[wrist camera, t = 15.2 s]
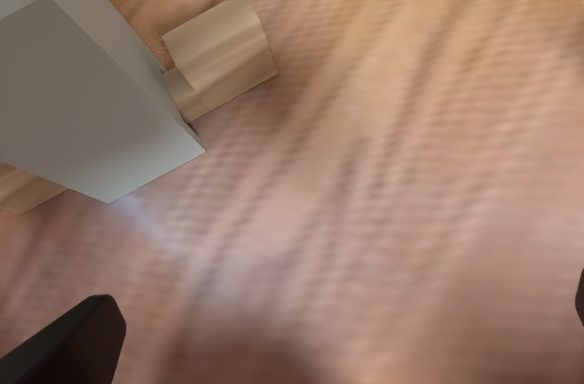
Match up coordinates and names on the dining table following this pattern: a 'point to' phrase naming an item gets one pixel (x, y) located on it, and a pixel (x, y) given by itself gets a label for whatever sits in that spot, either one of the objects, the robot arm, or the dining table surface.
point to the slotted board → (181, 82)
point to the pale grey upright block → (85, 99)
